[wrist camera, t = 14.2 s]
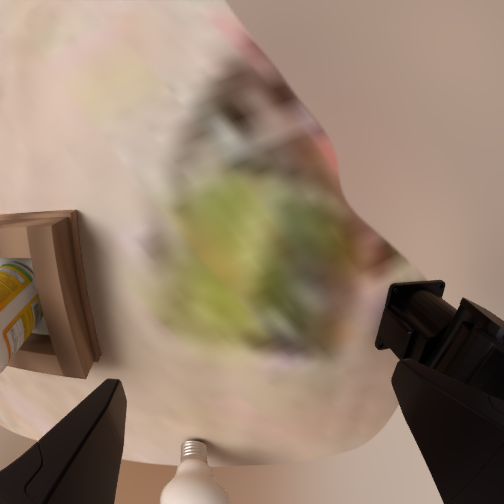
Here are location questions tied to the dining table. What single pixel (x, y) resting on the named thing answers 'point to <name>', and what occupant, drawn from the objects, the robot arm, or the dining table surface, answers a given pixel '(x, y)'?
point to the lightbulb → (194, 479)
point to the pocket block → (52, 292)
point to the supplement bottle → (16, 309)
